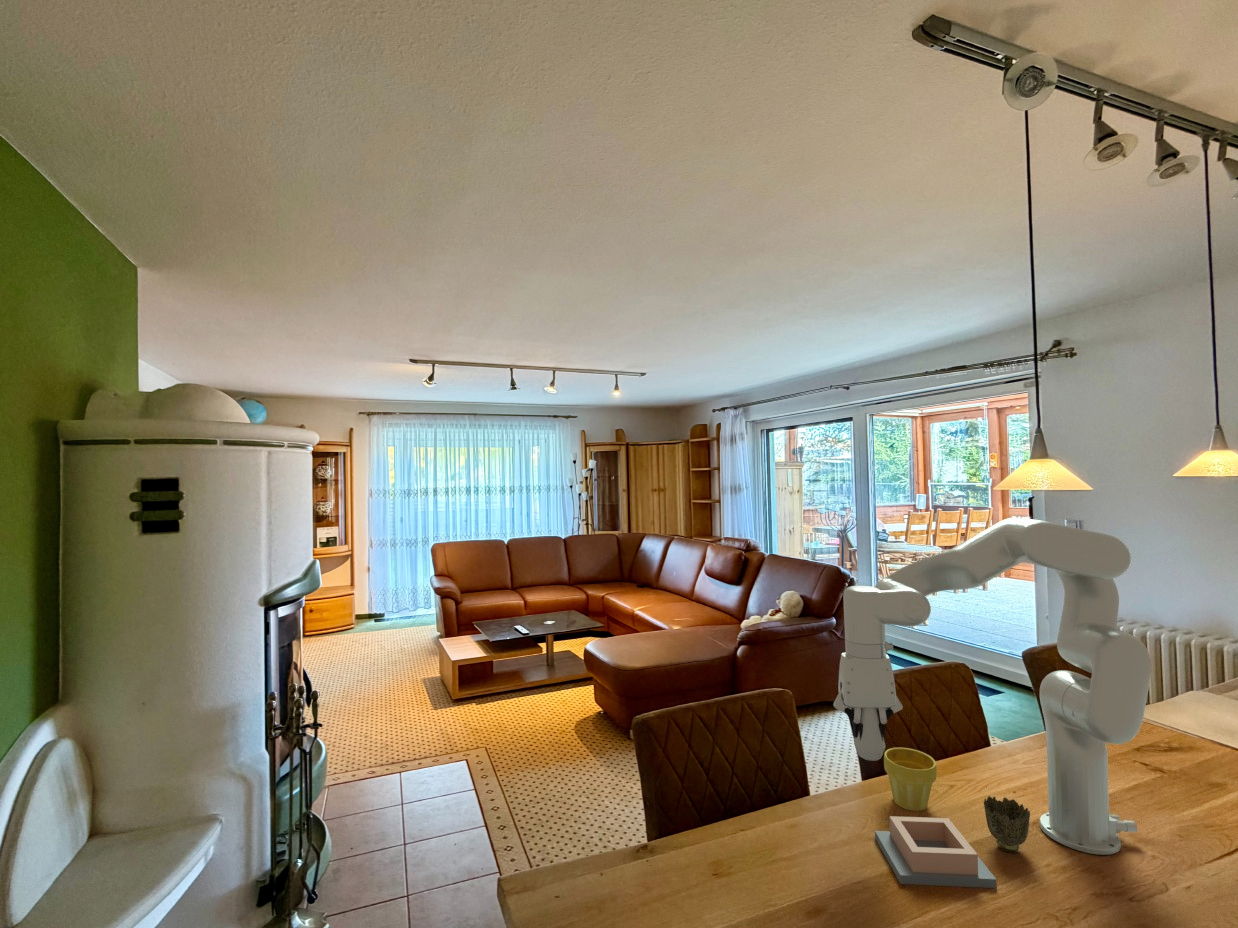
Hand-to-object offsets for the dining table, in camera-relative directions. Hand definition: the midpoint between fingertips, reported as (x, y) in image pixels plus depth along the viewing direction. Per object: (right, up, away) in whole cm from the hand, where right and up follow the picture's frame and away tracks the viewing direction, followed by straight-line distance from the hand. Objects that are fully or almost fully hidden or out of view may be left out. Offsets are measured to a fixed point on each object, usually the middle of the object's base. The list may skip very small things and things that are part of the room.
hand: (869, 740), depth 118 cm
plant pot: (+14, -19, +10) cm, 25 cm away
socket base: (+8, -18, -9) cm, 22 cm away
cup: (+24, -18, -6) cm, 31 cm away
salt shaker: (0, -3, 0) cm, 3 cm away
